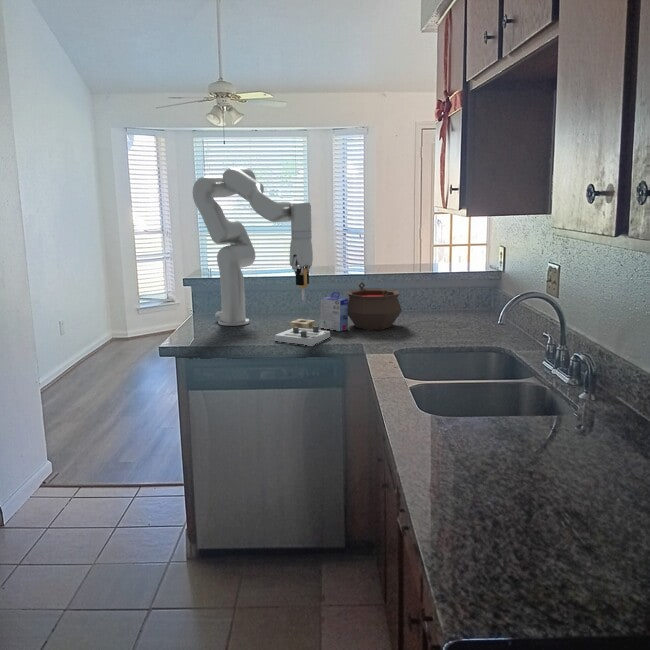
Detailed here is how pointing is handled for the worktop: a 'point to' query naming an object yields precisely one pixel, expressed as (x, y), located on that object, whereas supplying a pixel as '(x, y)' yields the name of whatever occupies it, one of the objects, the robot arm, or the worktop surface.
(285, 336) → the switch bank
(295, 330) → the tab
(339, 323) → the ink cartridge box
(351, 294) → the brown cauldron pot
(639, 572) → the worktop surface
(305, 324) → the stand
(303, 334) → the tab
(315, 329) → the tab
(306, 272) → the tan rounded cylinder
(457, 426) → the worktop surface
